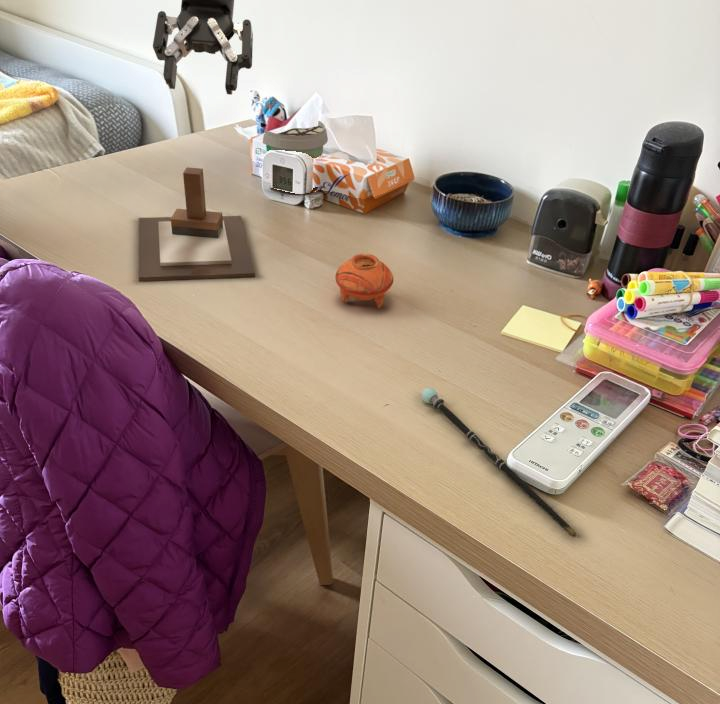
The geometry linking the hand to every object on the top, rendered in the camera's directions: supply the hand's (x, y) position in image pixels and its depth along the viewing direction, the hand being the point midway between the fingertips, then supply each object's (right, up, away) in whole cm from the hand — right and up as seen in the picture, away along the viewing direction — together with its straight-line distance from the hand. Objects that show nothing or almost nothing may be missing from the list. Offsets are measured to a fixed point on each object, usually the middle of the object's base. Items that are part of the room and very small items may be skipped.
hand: (199, 88), depth 106 cm
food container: (+13, -6, +22) cm, 26 cm away
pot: (+24, -33, -6) cm, 41 cm away
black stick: (+38, -56, -30) cm, 74 cm away
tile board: (-1, -23, +2) cm, 23 cm away
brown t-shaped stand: (-1, -20, +4) cm, 20 cm away
